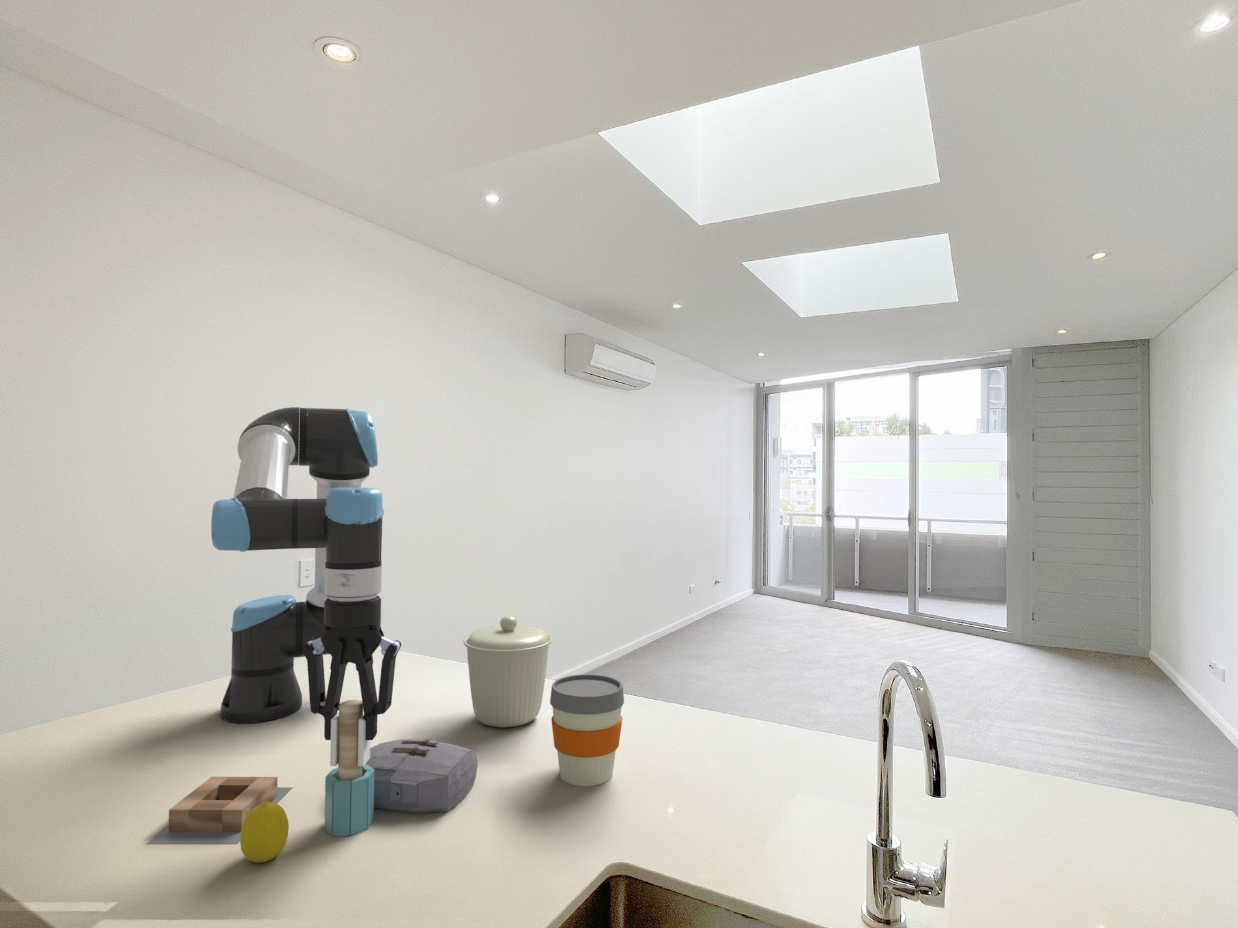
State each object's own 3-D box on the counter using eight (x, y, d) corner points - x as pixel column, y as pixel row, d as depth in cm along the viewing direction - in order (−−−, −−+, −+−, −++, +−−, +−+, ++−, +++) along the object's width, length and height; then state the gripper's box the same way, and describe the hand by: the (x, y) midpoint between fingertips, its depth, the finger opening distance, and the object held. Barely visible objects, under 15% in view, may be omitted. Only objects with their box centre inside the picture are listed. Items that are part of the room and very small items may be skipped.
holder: (211, 796, 103) (211, 776, 103) (277, 796, 103) (277, 776, 103) (168, 831, 93) (168, 809, 93) (241, 831, 93) (242, 809, 93)
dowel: (342, 817, 97) (344, 699, 97) (364, 817, 97) (366, 699, 97) (333, 829, 93) (335, 707, 94) (356, 829, 93) (358, 707, 94)
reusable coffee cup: (638, 773, 114) (639, 684, 114) (585, 799, 105) (586, 702, 105) (586, 751, 123) (588, 669, 123) (533, 773, 113) (534, 684, 114)
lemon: (251, 852, 89) (252, 792, 89) (294, 851, 90) (295, 790, 90) (231, 877, 84) (232, 813, 84) (277, 876, 84) (278, 811, 84)
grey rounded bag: (486, 781, 111) (375, 769, 115) (487, 730, 111) (376, 720, 115) (446, 828, 96) (320, 814, 100) (447, 770, 96) (321, 757, 100)
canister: (568, 714, 141) (570, 614, 141) (510, 743, 126) (512, 630, 126) (504, 698, 151) (505, 604, 151) (443, 722, 136) (444, 618, 136)
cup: (336, 818, 98) (337, 763, 98) (377, 818, 98) (378, 763, 98) (318, 841, 92) (319, 782, 92) (362, 841, 92) (363, 782, 92)
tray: (215, 792, 106) (215, 786, 106) (292, 792, 106) (292, 787, 106) (146, 849, 90) (146, 843, 90) (237, 849, 90) (237, 843, 90)
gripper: (283, 600, 91) (279, 773, 91) (402, 601, 92) (399, 774, 92) (307, 590, 99) (304, 750, 99) (418, 591, 99) (415, 751, 99)
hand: (350, 761), depth 95 cm, fingers closed on dowel, 3 cm apart
